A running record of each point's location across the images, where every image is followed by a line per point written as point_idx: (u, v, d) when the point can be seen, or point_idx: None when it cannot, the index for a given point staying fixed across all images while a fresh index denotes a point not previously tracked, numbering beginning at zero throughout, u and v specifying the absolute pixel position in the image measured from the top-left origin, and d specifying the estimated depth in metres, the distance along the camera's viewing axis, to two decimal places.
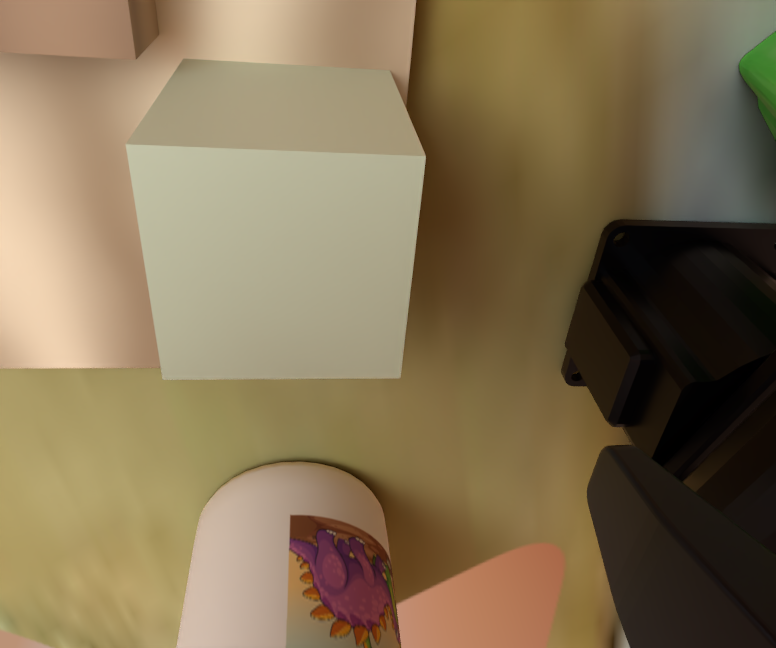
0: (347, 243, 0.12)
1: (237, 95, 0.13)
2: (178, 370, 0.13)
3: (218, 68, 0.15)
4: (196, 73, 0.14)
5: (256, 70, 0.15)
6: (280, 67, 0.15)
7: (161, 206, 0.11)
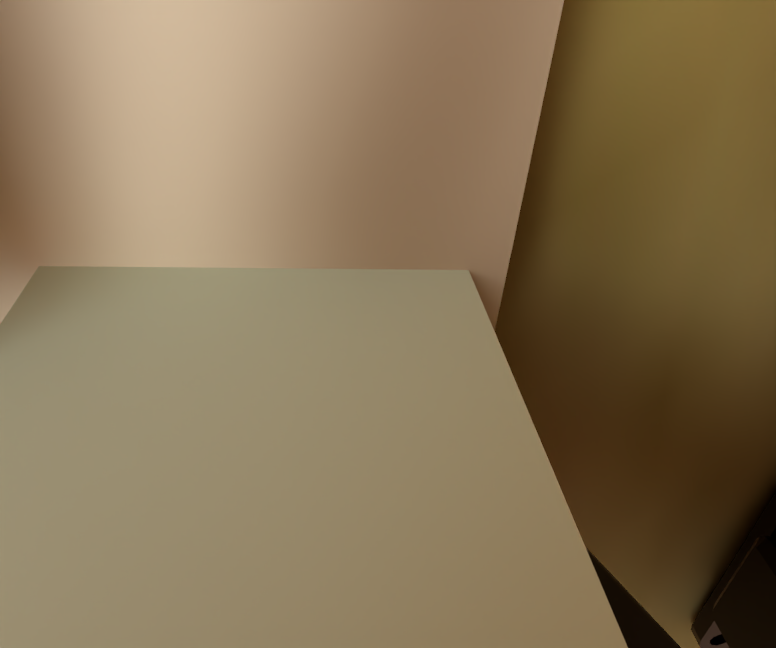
0: None
1: (119, 446, 0.05)
2: None
3: (105, 303, 0.07)
4: (48, 332, 0.06)
5: (191, 299, 0.07)
6: (245, 282, 0.07)
7: None
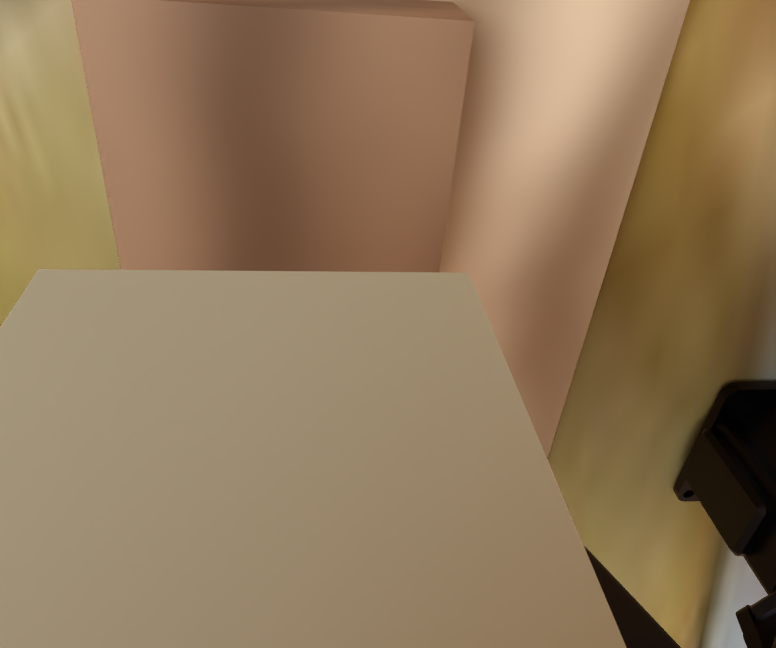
0: None
1: (119, 451, 0.05)
2: None
3: (105, 305, 0.07)
4: (47, 335, 0.06)
5: (191, 303, 0.07)
6: (245, 285, 0.07)
7: None
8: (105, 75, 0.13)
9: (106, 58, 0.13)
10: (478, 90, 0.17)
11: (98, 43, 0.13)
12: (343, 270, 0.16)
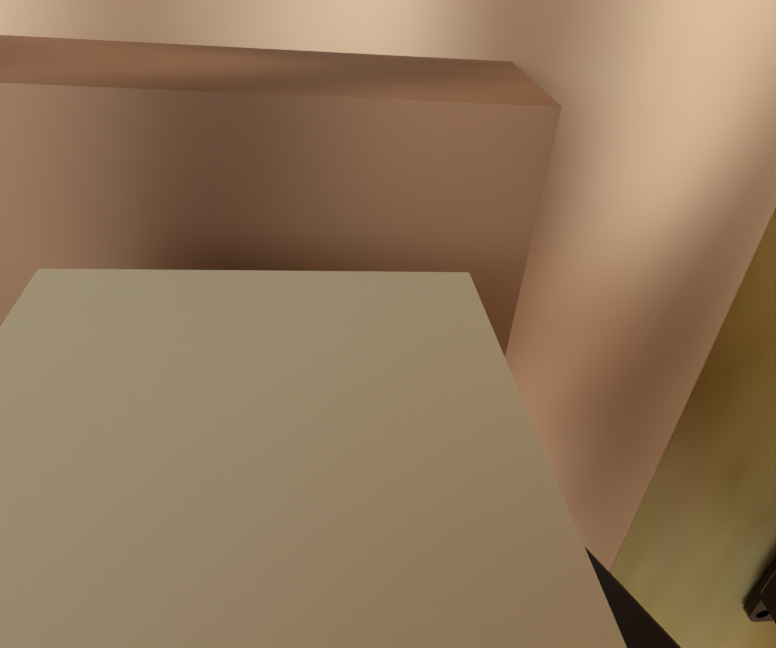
0: None
1: (120, 451, 0.05)
2: None
3: (105, 305, 0.07)
4: (46, 335, 0.06)
5: (191, 302, 0.07)
6: (244, 285, 0.07)
7: None
8: None
9: None
10: None
11: None
12: None
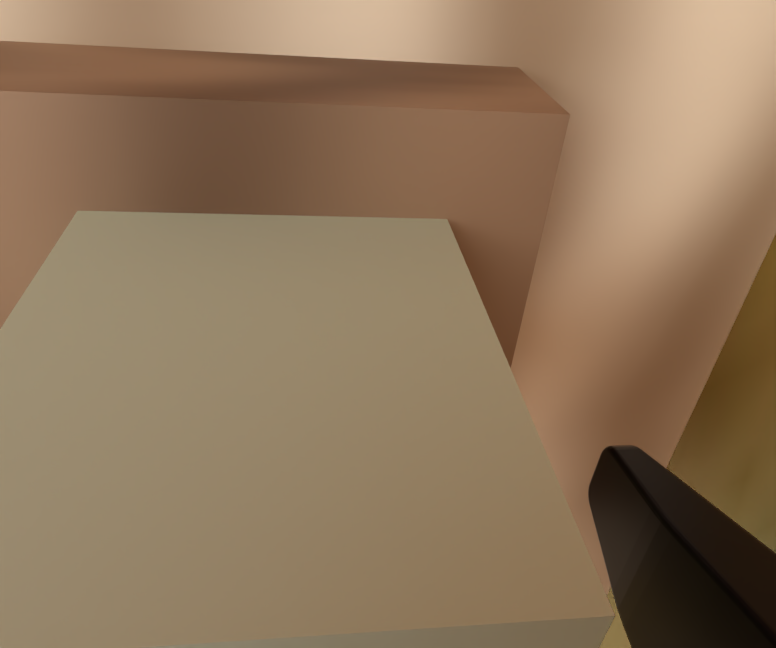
0: None
1: (156, 338, 0.06)
2: None
3: (137, 239, 0.08)
4: (90, 258, 0.07)
5: (208, 237, 0.08)
6: (254, 225, 0.09)
7: None
8: None
9: None
10: None
11: None
12: None
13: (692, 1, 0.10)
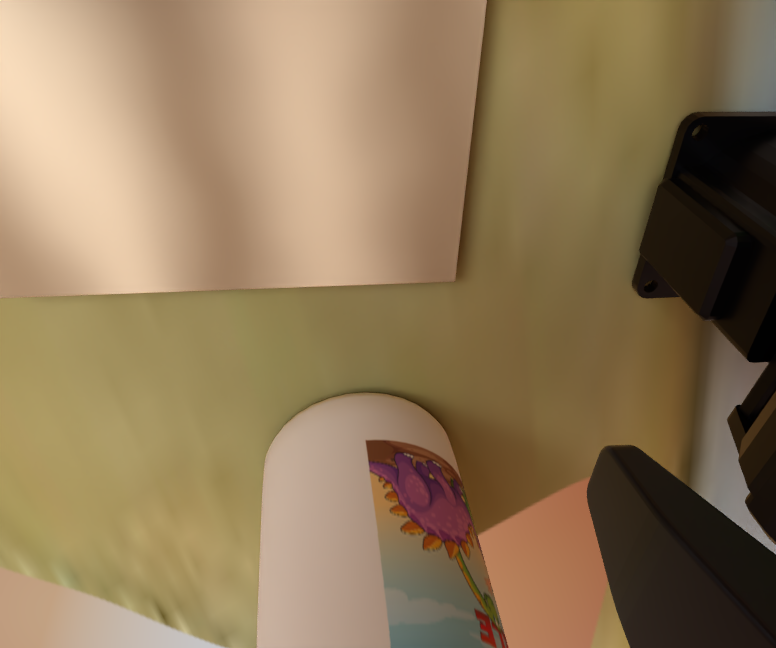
0: None
1: None
2: None
3: None
4: None
5: None
6: None
7: None
8: None
9: None
10: None
11: None
12: None
13: None
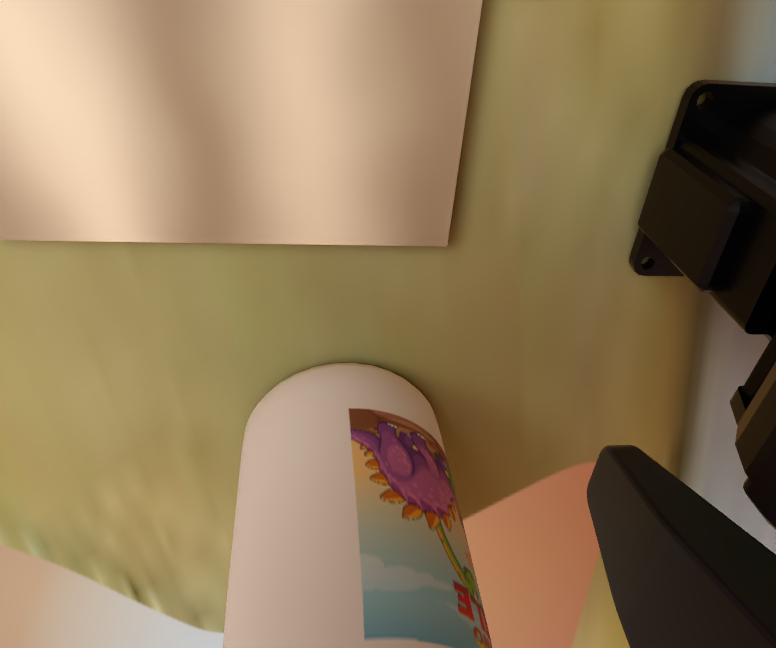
0: None
1: None
2: None
3: None
4: None
5: None
6: None
7: None
8: None
9: None
10: None
11: None
12: None
13: None
